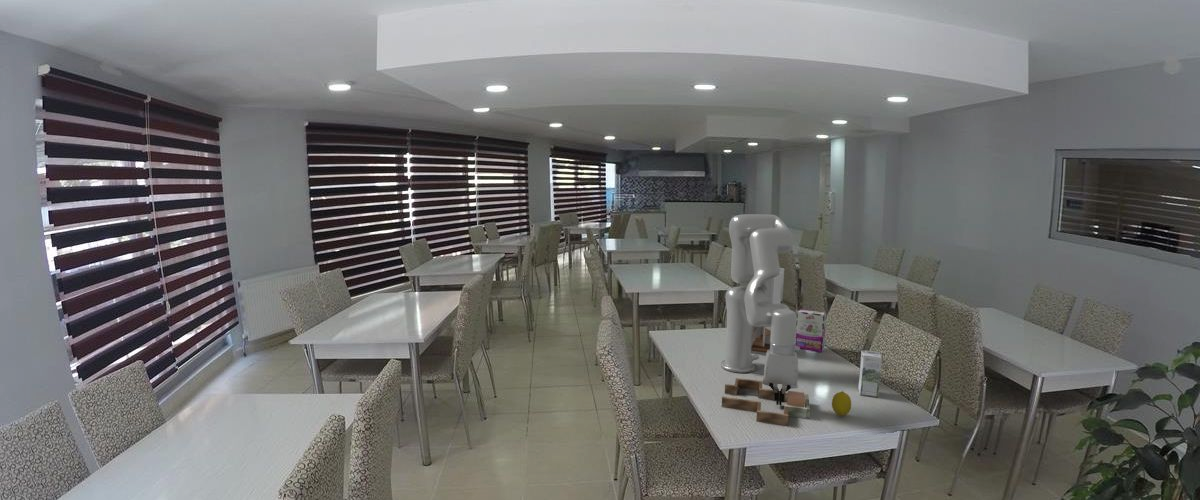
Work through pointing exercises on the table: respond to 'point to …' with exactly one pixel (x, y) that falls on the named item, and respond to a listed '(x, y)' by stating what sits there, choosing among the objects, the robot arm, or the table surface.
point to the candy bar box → (810, 330)
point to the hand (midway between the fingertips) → (778, 403)
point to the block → (795, 399)
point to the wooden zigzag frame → (752, 389)
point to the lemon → (841, 403)
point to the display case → (763, 333)
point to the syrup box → (869, 373)
